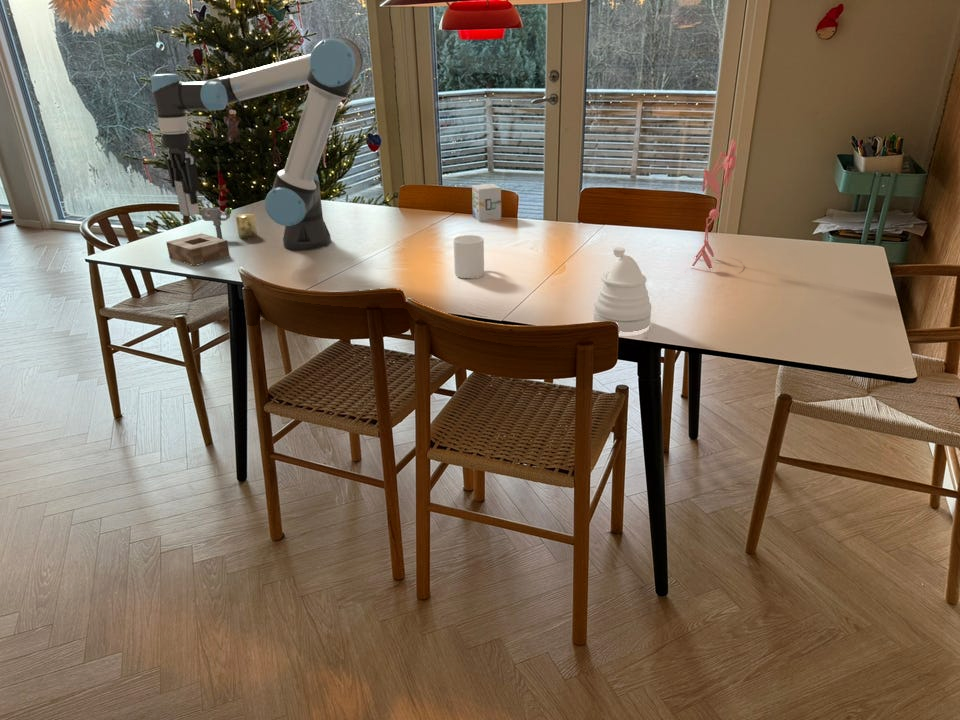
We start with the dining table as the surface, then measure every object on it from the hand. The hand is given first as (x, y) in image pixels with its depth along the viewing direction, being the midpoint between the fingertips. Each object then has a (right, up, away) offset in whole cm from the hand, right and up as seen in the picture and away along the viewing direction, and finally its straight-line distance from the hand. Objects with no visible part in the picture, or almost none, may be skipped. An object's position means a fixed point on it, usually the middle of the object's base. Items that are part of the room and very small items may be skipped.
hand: (190, 213), depth 209 cm
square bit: (0, 0, 0) cm, 0 cm away
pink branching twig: (+155, -17, -10) cm, 156 cm away
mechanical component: (0, -3, +25) cm, 25 cm away
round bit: (+9, -2, +27) cm, 28 cm away
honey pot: (+120, -36, -48) cm, 134 cm away
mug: (+85, -20, -12) cm, 88 cm away
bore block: (0, -12, +6) cm, 14 cm away
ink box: (+90, +7, +44) cm, 100 cm away
